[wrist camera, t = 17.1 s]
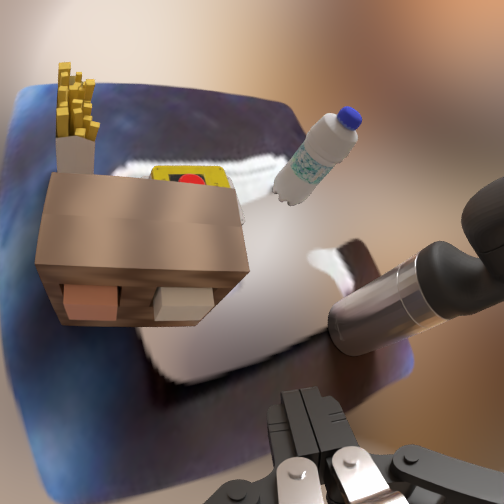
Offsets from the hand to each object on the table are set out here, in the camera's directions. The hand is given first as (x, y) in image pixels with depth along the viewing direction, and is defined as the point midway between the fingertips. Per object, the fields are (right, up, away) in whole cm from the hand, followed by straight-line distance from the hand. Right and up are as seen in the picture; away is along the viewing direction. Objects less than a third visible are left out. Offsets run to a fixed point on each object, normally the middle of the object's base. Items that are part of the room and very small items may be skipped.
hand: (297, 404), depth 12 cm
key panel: (-16, +1, +24) cm, 29 cm away
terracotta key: (-16, +2, +14) cm, 22 cm away
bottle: (+4, +16, +43) cm, 46 cm away
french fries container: (-26, +15, +27) cm, 40 cm away
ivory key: (-9, +2, +18) cm, 20 cm away
